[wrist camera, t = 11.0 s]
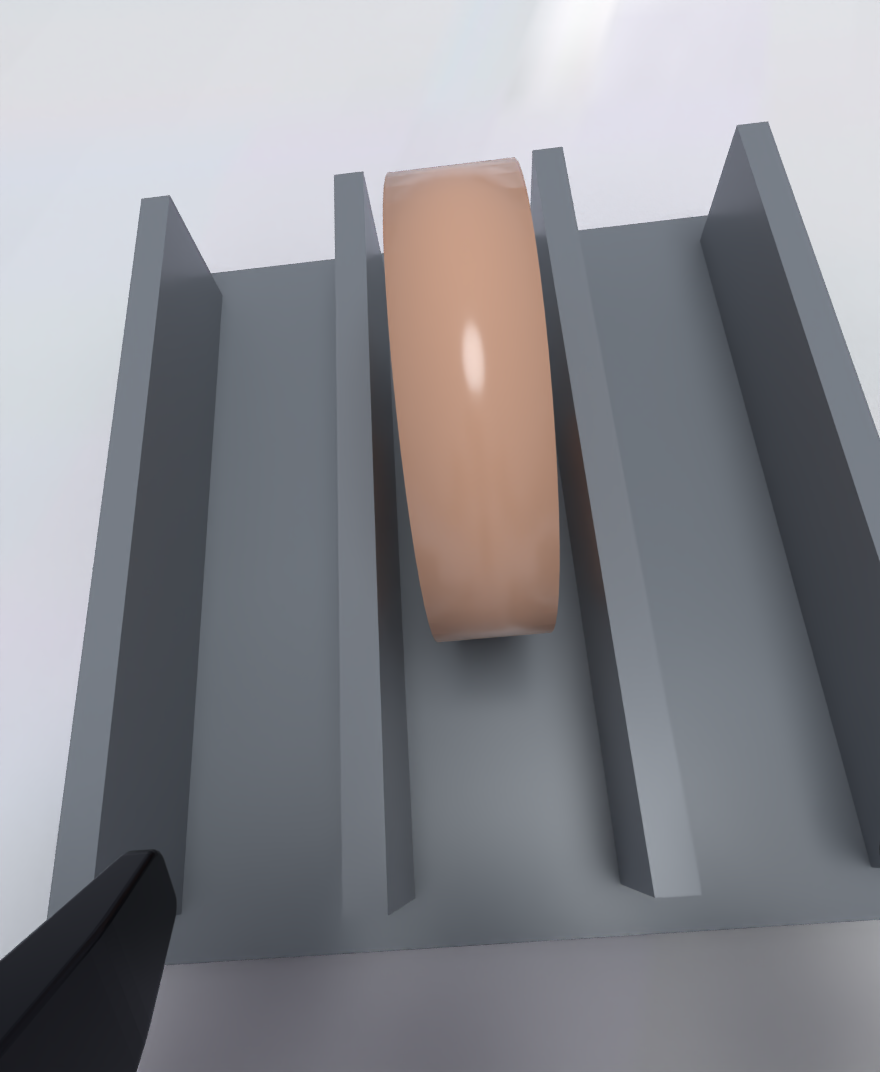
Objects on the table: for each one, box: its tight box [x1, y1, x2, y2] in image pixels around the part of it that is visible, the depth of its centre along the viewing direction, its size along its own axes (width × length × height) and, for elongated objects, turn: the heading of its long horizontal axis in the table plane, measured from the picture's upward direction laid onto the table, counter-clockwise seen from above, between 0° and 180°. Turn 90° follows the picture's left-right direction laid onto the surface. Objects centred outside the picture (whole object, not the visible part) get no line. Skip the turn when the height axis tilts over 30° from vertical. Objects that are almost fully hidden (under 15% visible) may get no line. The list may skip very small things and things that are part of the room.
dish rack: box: [47, 122, 880, 965], centre depth 18 cm, size 20×19×5 cm
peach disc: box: [383, 157, 560, 642], centre depth 15 cm, size 9×3×10 cm, turn 4°
